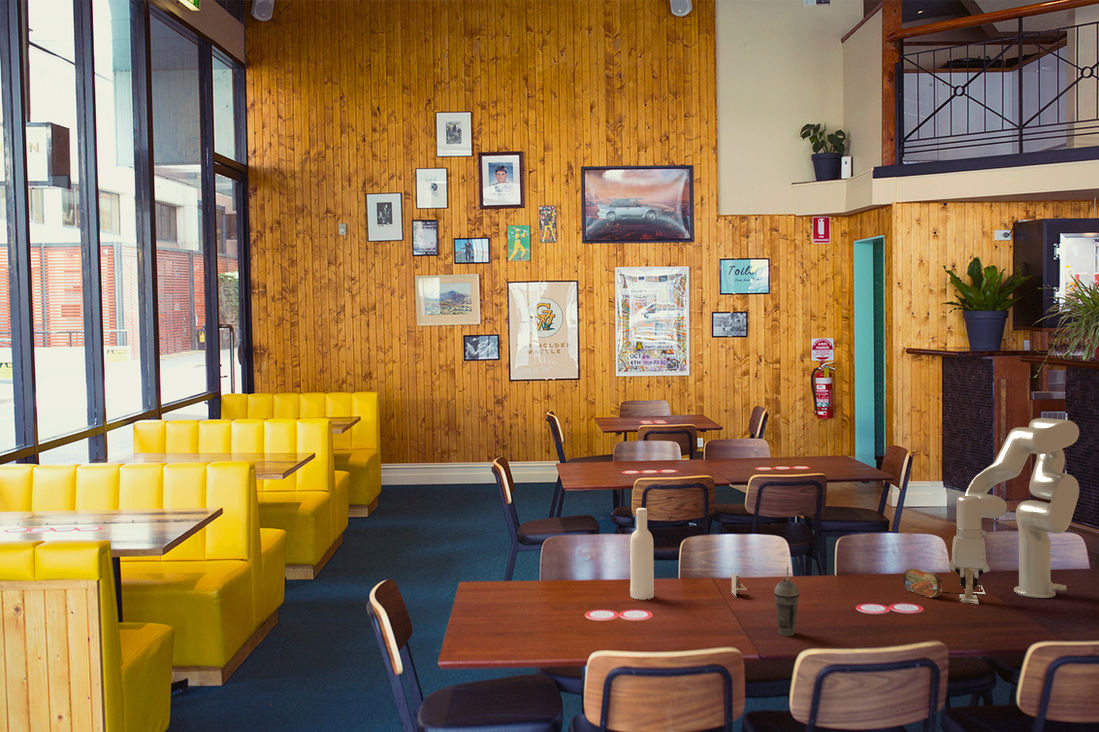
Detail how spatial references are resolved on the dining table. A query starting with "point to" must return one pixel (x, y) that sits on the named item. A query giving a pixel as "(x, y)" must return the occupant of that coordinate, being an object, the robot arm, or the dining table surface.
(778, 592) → the beverage cup
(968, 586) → the beige post on base
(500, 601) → the dining table surface
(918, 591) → the tin
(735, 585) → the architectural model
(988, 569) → the robot arm
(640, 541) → the bottle
